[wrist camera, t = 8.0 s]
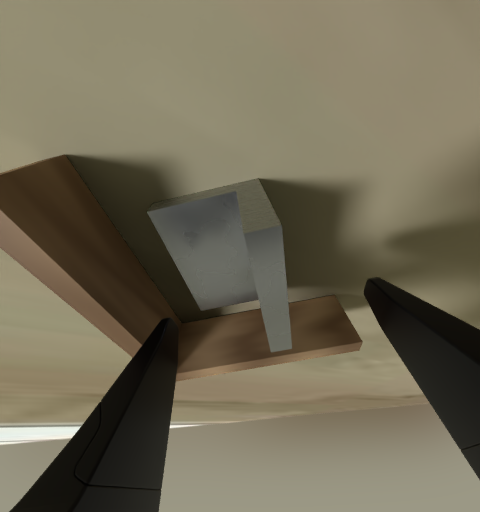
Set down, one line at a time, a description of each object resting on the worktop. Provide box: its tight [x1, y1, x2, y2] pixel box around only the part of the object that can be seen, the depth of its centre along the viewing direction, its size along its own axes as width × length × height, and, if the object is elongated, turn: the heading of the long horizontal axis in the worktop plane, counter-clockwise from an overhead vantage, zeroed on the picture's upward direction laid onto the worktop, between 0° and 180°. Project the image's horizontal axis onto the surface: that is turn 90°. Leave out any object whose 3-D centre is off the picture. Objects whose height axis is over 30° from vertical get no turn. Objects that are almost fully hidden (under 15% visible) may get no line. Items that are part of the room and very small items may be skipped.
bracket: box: [147, 178, 292, 352], centre depth 11 cm, size 8×6×5 cm
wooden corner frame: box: [0, 155, 362, 381], centre depth 11 cm, size 14×15×4 cm
